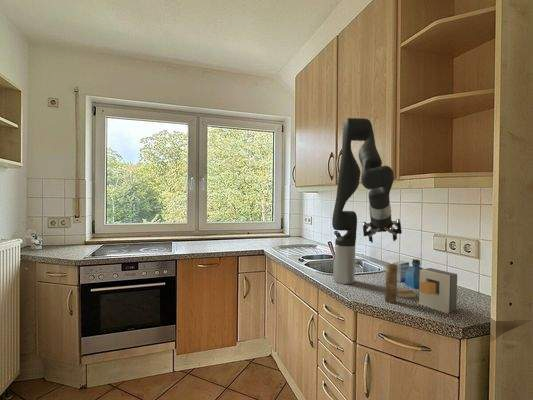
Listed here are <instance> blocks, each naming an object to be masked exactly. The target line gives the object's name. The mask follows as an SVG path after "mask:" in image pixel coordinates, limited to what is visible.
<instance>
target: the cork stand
mask: <svg viewBox="0 0 533 400" xmlns="http://www.w3.org/2000/svg"><path fill="white" fill-rule="evenodd" d="M397 297H399V298H402V299H403V298H406V299H414V298H416V297H417V292H415V291H414V290H411V289H407V288H397Z"/></svg>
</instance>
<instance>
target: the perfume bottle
mask: <svg viewBox="0 0 533 400" xmlns="http://www.w3.org/2000/svg"><path fill="white" fill-rule="evenodd" d="M421 269H424V268H423V267H421V259H418V258H416V259H415V258H413V259H412V262H411V266H410V265H409V267H408V269H407V270H406V271H405V281H404V283H405V284H404V285H405V286H407V287H410V288H411V289H413V290H414V289H416V290H417V289H419V284H420V270H421Z"/></svg>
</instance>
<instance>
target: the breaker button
mask: <svg viewBox="0 0 533 400" xmlns="http://www.w3.org/2000/svg"><path fill="white" fill-rule="evenodd" d="M420 292H422V293H425V294H428V295H430V294H434V293H436V283H432V282H428V281H424V282H420Z"/></svg>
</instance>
